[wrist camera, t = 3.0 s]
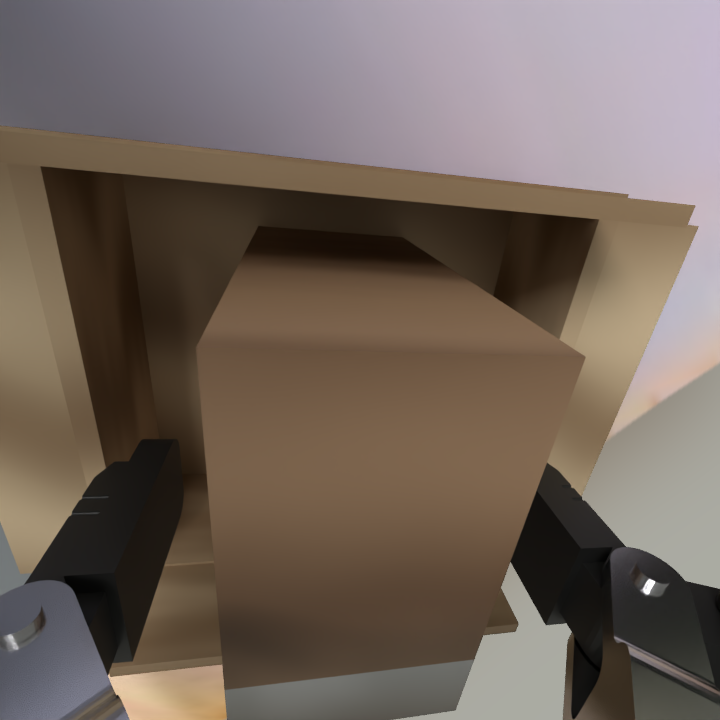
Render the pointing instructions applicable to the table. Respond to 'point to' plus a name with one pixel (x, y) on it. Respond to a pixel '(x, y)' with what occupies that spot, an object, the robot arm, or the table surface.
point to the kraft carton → (206, 287)
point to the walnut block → (366, 471)
